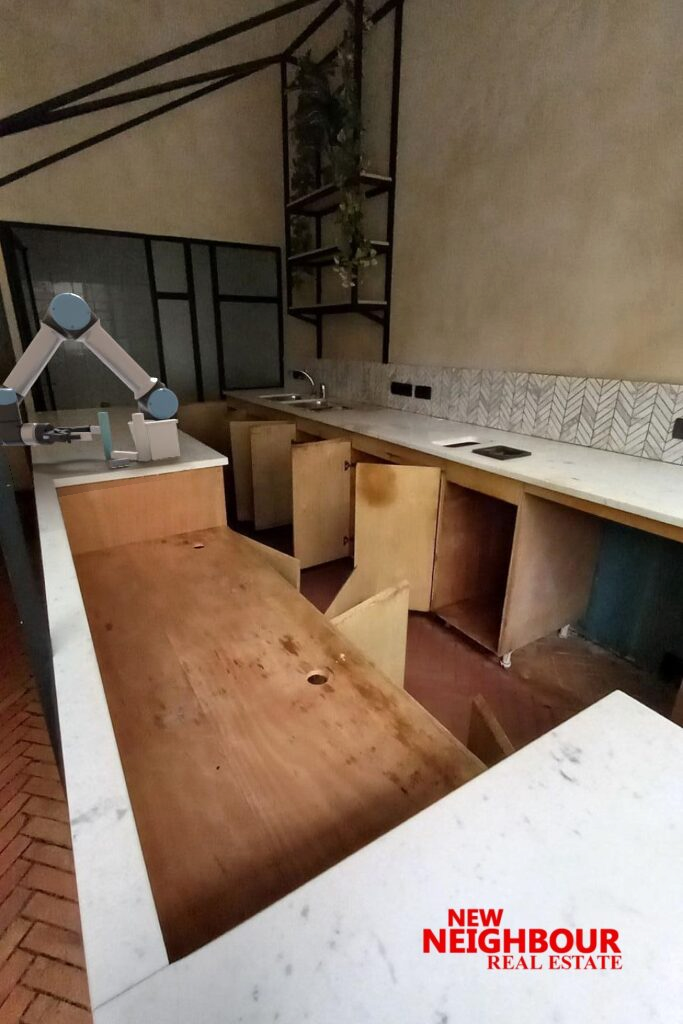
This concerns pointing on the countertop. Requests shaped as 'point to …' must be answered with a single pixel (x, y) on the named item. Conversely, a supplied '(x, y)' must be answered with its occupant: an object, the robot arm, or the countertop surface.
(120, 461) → the latch block
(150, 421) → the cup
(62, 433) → the robot arm
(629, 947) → the countertop surface
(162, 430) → the fence stub
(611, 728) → the countertop surface
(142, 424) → the gate
